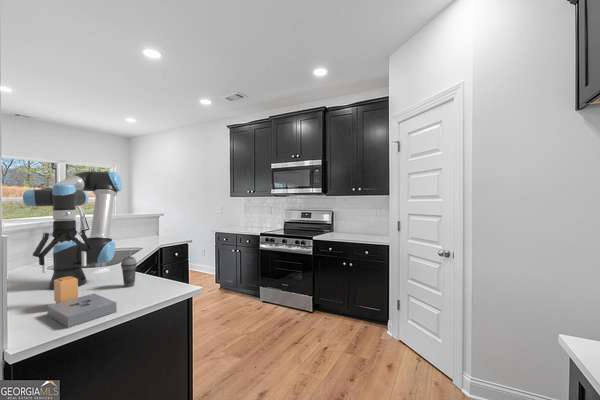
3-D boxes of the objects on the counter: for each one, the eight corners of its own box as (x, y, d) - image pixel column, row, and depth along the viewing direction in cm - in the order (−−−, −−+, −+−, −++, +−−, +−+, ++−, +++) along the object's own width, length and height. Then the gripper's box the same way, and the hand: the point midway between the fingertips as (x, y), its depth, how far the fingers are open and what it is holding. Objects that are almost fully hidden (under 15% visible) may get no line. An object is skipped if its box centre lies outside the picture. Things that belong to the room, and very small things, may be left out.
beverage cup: (125, 283, 149) (125, 247, 149) (139, 283, 150) (139, 246, 149) (118, 288, 142) (117, 249, 141) (133, 287, 142) (132, 249, 142)
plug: (54, 306, 119) (53, 278, 119) (71, 301, 124) (71, 275, 124) (60, 309, 115) (60, 281, 115) (78, 304, 120) (77, 277, 120)
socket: (47, 315, 110) (47, 305, 110) (94, 302, 123) (93, 293, 123) (68, 328, 99) (67, 317, 99) (116, 311, 113) (116, 302, 113)
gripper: (28, 222, 106) (29, 277, 107) (101, 218, 128) (102, 264, 128) (21, 221, 110) (22, 274, 110) (94, 217, 132) (94, 262, 132)
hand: (65, 269), depth 119 cm, fingers open, 13 cm apart
